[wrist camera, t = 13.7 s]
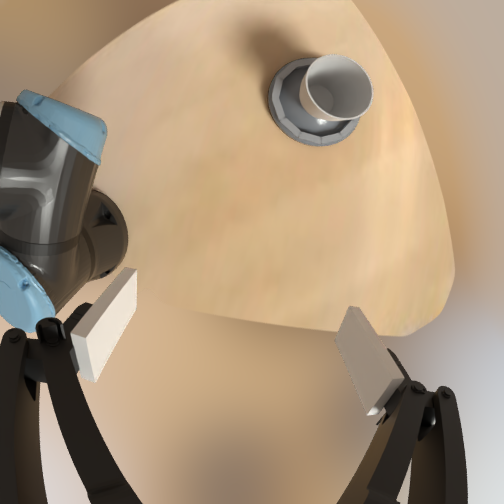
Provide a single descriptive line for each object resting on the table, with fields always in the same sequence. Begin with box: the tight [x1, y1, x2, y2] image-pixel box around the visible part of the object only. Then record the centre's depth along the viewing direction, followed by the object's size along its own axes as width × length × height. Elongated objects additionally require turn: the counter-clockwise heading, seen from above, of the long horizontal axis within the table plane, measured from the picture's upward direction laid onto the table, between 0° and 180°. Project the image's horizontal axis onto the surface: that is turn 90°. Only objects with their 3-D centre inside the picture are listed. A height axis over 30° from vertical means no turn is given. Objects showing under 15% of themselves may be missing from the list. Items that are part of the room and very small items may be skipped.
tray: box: [268, 58, 360, 146], centre depth 34 cm, size 14×14×2 cm
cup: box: [299, 54, 373, 121], centre depth 29 cm, size 8×8×10 cm
